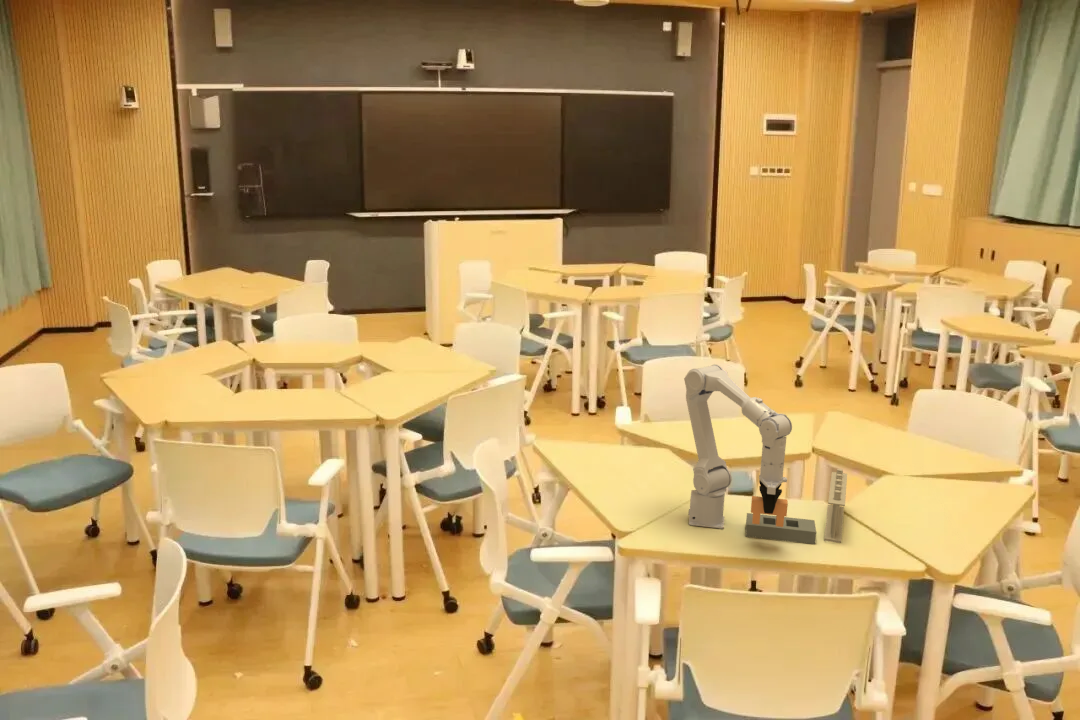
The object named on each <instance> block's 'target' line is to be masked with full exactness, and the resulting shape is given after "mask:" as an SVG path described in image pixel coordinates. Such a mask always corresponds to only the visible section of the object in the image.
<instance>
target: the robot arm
mask: <svg viewBox="0 0 1080 720" xmlns="http://www.w3.org/2000/svg"><path fill="white" fill-rule="evenodd" d="M683 379H684V384H685V390H686V392H685V401H686V405H687V409H688V410H687V411H688V416H689V421H690V424H691V429H692V434H693V438H694V444H695V448H696V454H697V462H696V463H695V465H694V467H693V468H692V470H693V480H692V483H693V487H694V488H695V489H692V490H691V492H690V503H689V508H688V517H689V519H688V526H694V527H695V526H697V527H703V528H713V529H721V530H722V529H724V528H725V516H724V508H725V495H726V494H725V493H726V492H727V488H729V487H730V486H731V484H732V480H733V479H732V474H731V472H730V470H729V468H728V465H727V462H726V460H724V459H723V458H721V457H720V456H719V454H718V449H717V442H716V439H715V433H714V428H713V424H712V419H711V415H710V409H709V404H708V400H709V399H710V396H712V394H713V393H714V392H720V393H721V394H723V395H724V396H726V397H727V398H728V399H729V400H730V401H732V402H733V403H735V404H737V405H738V406H739V407H740V408H741V414H742V415H743V416H745V418H747V419H748V420H749V421H750V422H751V423H753V424H754V425H755V427H757V428H758V431H759V435H760V436H761V443H762V449H761V459H760V471H759V475H758V480H759V481H758V482H759V489H758V490H759V492H760V495H761V497H762V498H763V508H764V513H768V514H773V511H774V508H775V505H776V502H777V499H780V496H781V494H782V493H783V490H782V488H781V487H782V483H788V477H786V476H785V477H784V468H785V459H786V458H785V455H786V445H787V437H788V436H789V435H790V434H791V432H792V430H793V424H792V423H793V422H792V421H791V419H790V418H789V417H788V415H786V413H785V414H784V413H778V412H776V410H774V409H771V407H769V406H768V405H767V404H766V403H764V400H763V399H762V398H760V397H757V396H750V395H748V394H747V393H746V392H745V391H744V390H743V389H742V388H741V387H740V386H739V385H738V384H737V383H736V382H734V380H733V379H732V378H731V377H730V376H729V374H728V371H727V370H725V369H724V368H723V367H722V366H721V365H719V364H715V363H714V364H712V365H708V366H703V367H698V368H691V369H690V370H689V371H688V372H687V374H686V375H685V377H684V378H683ZM780 488H781V489H780ZM768 514H767V515H768Z"/></svg>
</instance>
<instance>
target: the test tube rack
mask: <svg viewBox="0 0 1080 720" xmlns="http://www.w3.org/2000/svg"><path fill="white" fill-rule="evenodd" d="M830 477H831V478H830V483H829V493H828V500H827V512H826V521H825V529H824V537H823V541H825V542H832V543H837V544H842V539H843V538H842V537H843V536H842V535H843V526H844V525H843V524H844V512H845V511H844V509H845V506H846V497H847V495H846V494H847V481H848V473H844V471H843V469H842V468H837V469H836V471H831V476H830Z"/></svg>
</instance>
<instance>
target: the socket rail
mask: <svg viewBox="0 0 1080 720" xmlns="http://www.w3.org/2000/svg"><path fill="white" fill-rule="evenodd" d="M752 518H753V513H751V512H746V518H745V519H746V520H745V521H746V522H745V537H746V538H756V539H765V540H772V541H773V540H775V541H783V542H790V543H792V542H793V543H800V544H809V545H815V544H816V541H817V539H816V538H817V529H816V523H815V519H808V518H807V519H806V518H799V517H798V518H797V517H788V516H787V517H786V516H784V524H783V527H778V526H776V515H768V514H760V524H752Z"/></svg>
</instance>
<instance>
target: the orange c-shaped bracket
mask: <svg viewBox="0 0 1080 720" xmlns="http://www.w3.org/2000/svg"><path fill="white" fill-rule="evenodd" d="M750 502H751V503H750V504H751V506H750V513H752V514H753V518H752V524H760V514H761V515H771V516H776V526H778V527H783V524H784V517H788V506H789V505H788V504H789V503H788V499H786V498H785V499H784V498H778V499H777V502H776V505H775V508H774V511H773V514H768V513H764V508H763V498H762V496H756V495H755V496H754V495H752V496H751V501H750Z"/></svg>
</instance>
